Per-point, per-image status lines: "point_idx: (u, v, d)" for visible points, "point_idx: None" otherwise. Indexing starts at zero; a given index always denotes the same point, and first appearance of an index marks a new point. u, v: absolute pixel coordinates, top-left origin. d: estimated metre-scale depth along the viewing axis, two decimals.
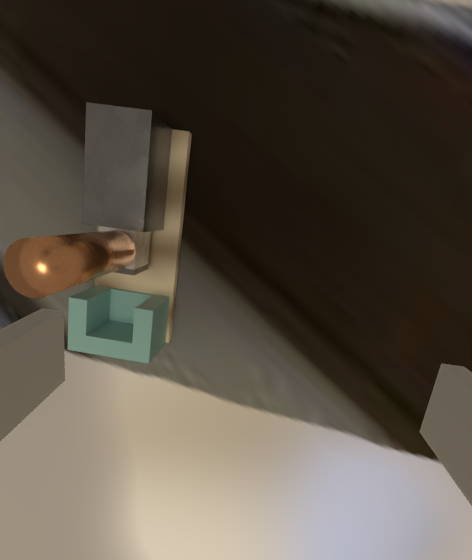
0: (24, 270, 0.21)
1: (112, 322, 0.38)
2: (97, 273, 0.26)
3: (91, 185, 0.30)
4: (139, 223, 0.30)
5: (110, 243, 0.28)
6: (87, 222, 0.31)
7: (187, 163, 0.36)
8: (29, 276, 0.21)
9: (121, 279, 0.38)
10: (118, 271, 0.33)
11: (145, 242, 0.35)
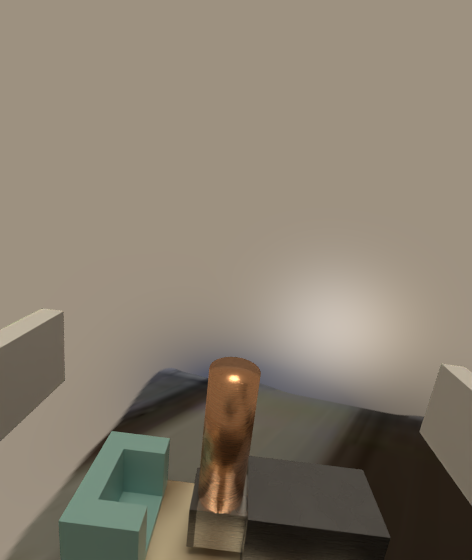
0: (233, 366, 0.25)
1: (120, 493, 0.31)
2: (214, 440, 0.24)
3: (288, 467, 0.29)
4: (258, 515, 0.25)
5: (240, 466, 0.25)
6: (250, 460, 0.30)
7: None
8: (228, 367, 0.25)
9: (171, 512, 0.31)
10: (195, 491, 0.27)
11: (225, 539, 0.26)
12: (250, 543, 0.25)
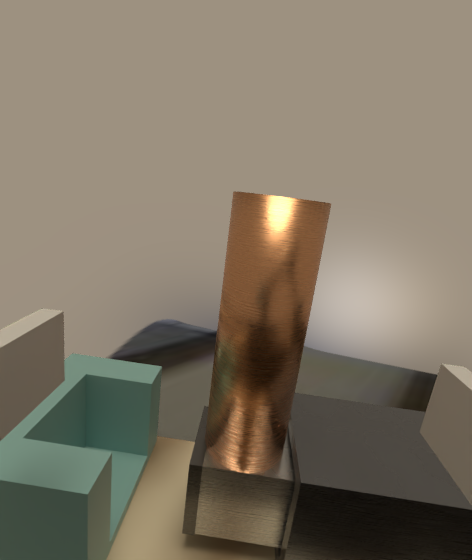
0: None
1: (79, 447, 0.19)
2: (239, 327, 0.13)
3: (354, 409, 0.18)
4: (319, 476, 0.13)
5: (285, 384, 0.13)
6: None
7: None
8: None
9: (161, 480, 0.19)
10: (199, 437, 0.16)
11: (253, 522, 0.15)
12: (302, 529, 0.13)
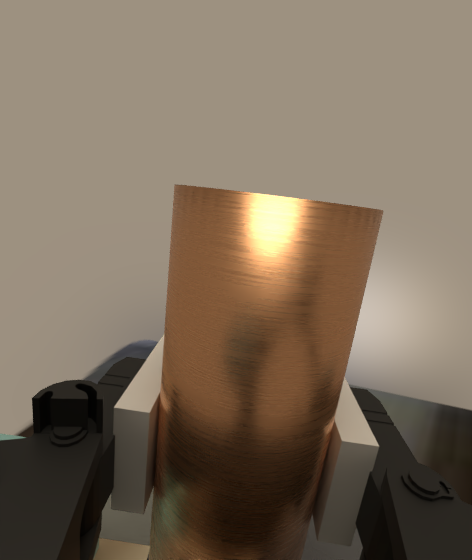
0: None
1: None
2: (187, 473, 0.06)
3: None
4: None
5: None
6: None
7: None
8: None
9: None
10: None
11: None
12: None
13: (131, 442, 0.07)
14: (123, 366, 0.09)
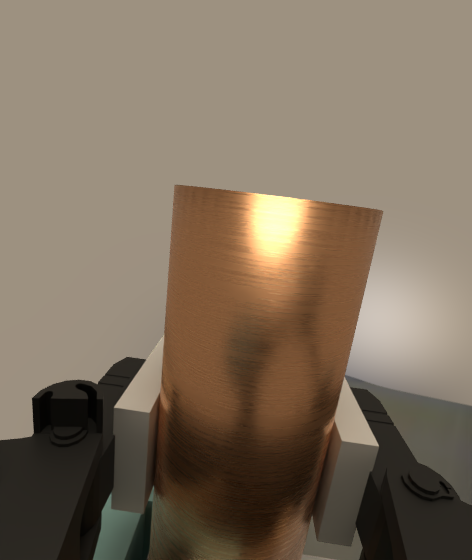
0: None
1: None
2: (188, 473, 0.06)
3: None
4: None
5: None
6: None
7: None
8: None
9: None
10: None
11: None
12: None
13: (131, 442, 0.07)
14: (123, 366, 0.09)
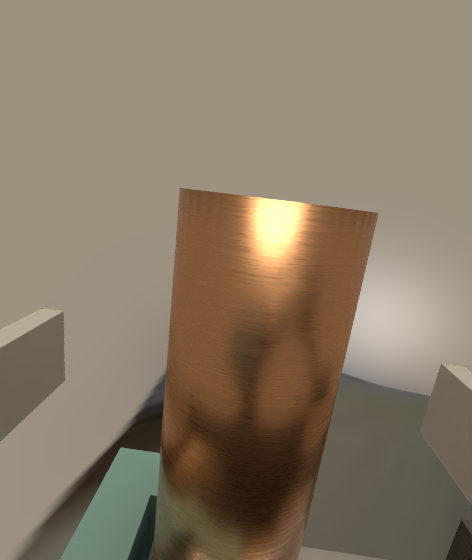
0: None
1: None
2: (192, 463, 0.06)
3: None
4: None
5: (285, 557, 0.07)
6: None
7: None
8: None
9: None
10: None
11: None
12: None
13: None
14: None
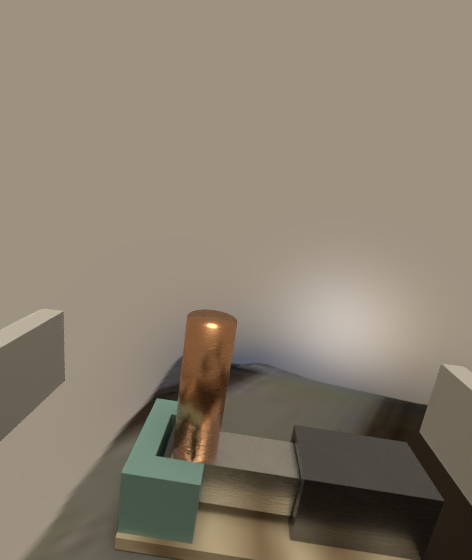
0: (210, 316, 0.26)
1: None
2: (189, 386, 0.25)
3: (334, 436, 0.30)
4: (313, 476, 0.25)
5: (214, 415, 0.25)
6: (296, 429, 0.30)
7: None
8: (205, 316, 0.25)
9: None
10: (170, 442, 0.28)
11: None
12: (304, 504, 0.25)
13: None
14: None
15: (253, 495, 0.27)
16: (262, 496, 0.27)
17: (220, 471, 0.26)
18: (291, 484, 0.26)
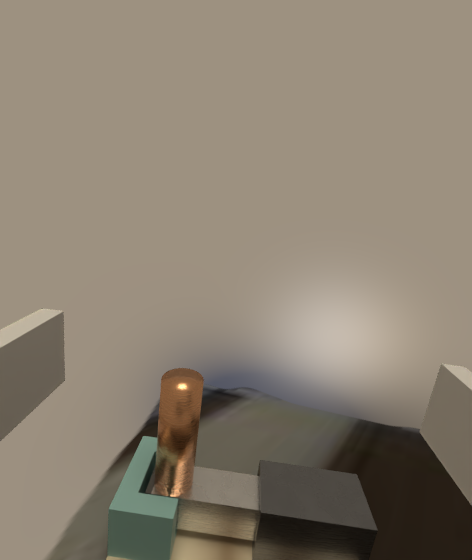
0: (182, 376, 0.31)
1: None
2: (164, 436, 0.30)
3: (293, 470, 0.35)
4: (269, 509, 0.30)
5: (186, 458, 0.31)
6: (261, 463, 0.35)
7: None
8: (177, 377, 0.30)
9: None
10: (152, 478, 0.33)
11: None
12: (262, 532, 0.30)
13: None
14: None
15: (221, 523, 0.32)
16: (228, 524, 0.32)
17: (192, 504, 0.31)
18: (251, 515, 0.31)
